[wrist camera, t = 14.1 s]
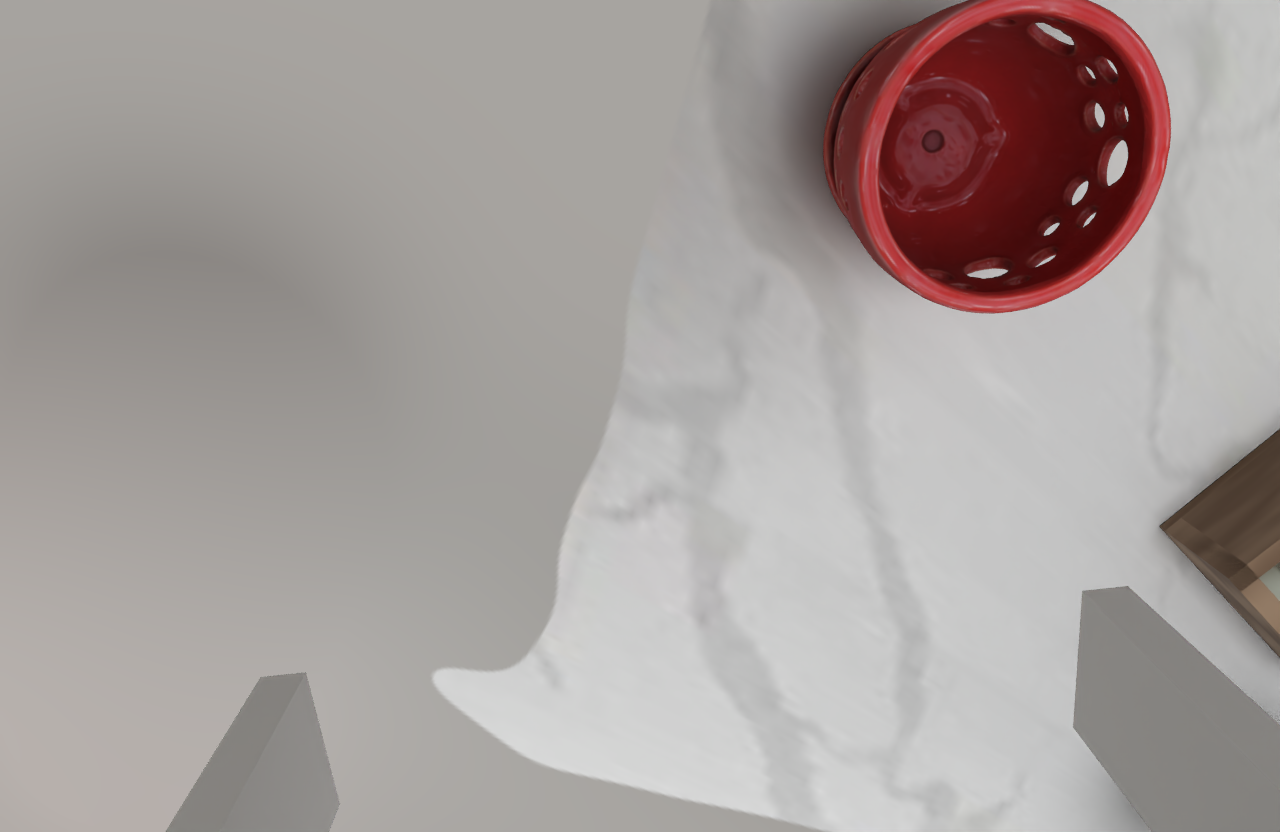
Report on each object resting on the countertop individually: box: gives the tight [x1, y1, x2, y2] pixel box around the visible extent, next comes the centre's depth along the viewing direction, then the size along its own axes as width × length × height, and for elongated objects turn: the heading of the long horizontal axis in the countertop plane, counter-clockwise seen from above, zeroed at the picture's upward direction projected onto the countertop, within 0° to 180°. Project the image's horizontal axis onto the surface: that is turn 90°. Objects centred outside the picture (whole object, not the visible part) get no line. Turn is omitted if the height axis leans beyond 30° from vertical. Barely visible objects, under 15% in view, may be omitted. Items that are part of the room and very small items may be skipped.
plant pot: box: [823, 0, 1171, 313], centre depth 42 cm, size 13×13×12 cm
